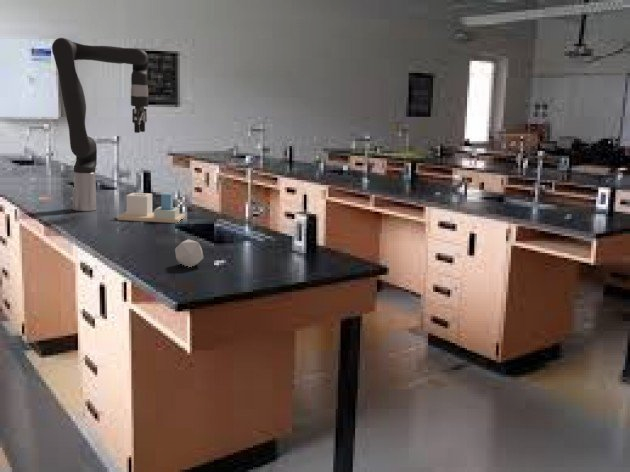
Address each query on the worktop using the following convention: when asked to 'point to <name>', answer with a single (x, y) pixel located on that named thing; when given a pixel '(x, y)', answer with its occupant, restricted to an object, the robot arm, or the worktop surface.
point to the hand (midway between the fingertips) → (139, 132)
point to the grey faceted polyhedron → (189, 253)
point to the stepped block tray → (148, 210)
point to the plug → (167, 201)
